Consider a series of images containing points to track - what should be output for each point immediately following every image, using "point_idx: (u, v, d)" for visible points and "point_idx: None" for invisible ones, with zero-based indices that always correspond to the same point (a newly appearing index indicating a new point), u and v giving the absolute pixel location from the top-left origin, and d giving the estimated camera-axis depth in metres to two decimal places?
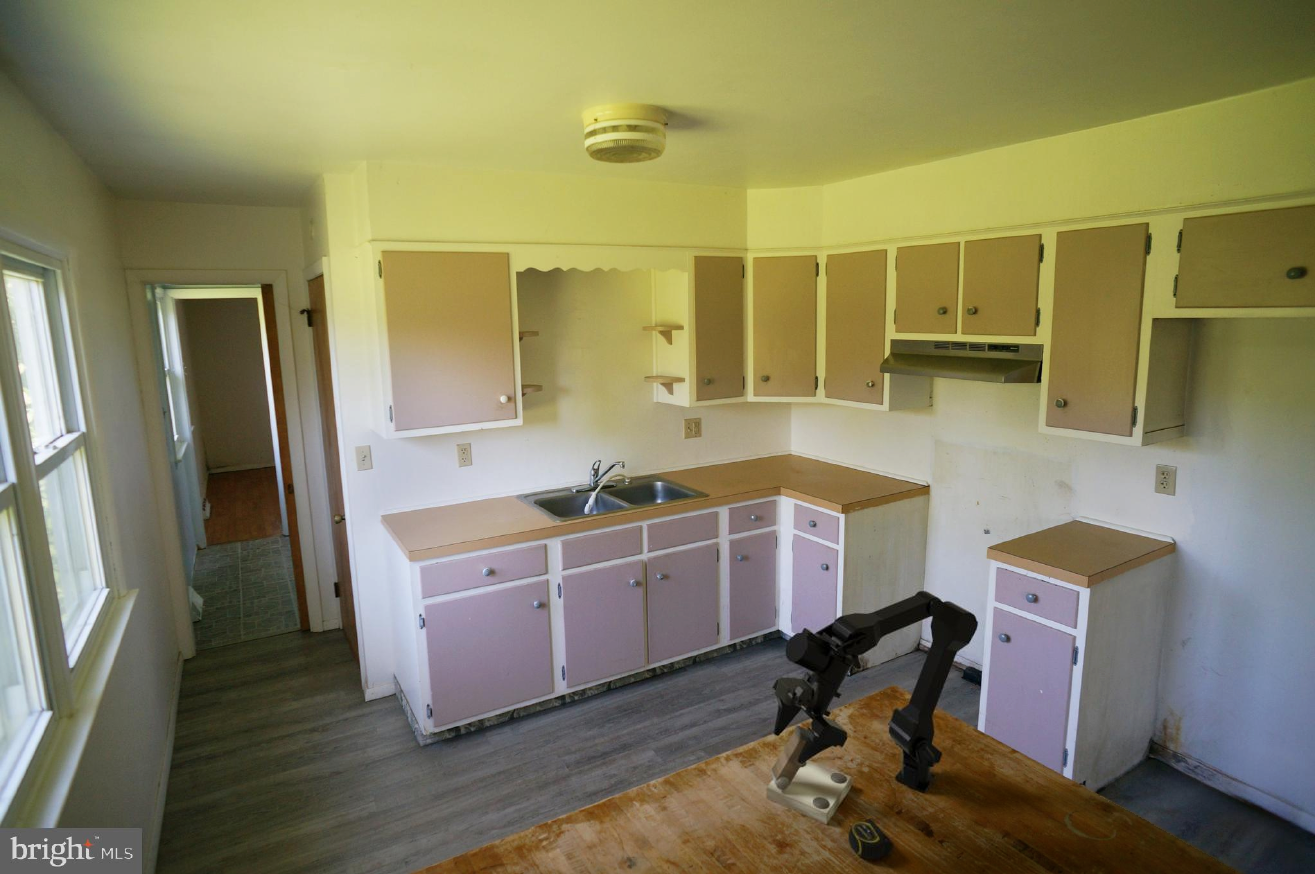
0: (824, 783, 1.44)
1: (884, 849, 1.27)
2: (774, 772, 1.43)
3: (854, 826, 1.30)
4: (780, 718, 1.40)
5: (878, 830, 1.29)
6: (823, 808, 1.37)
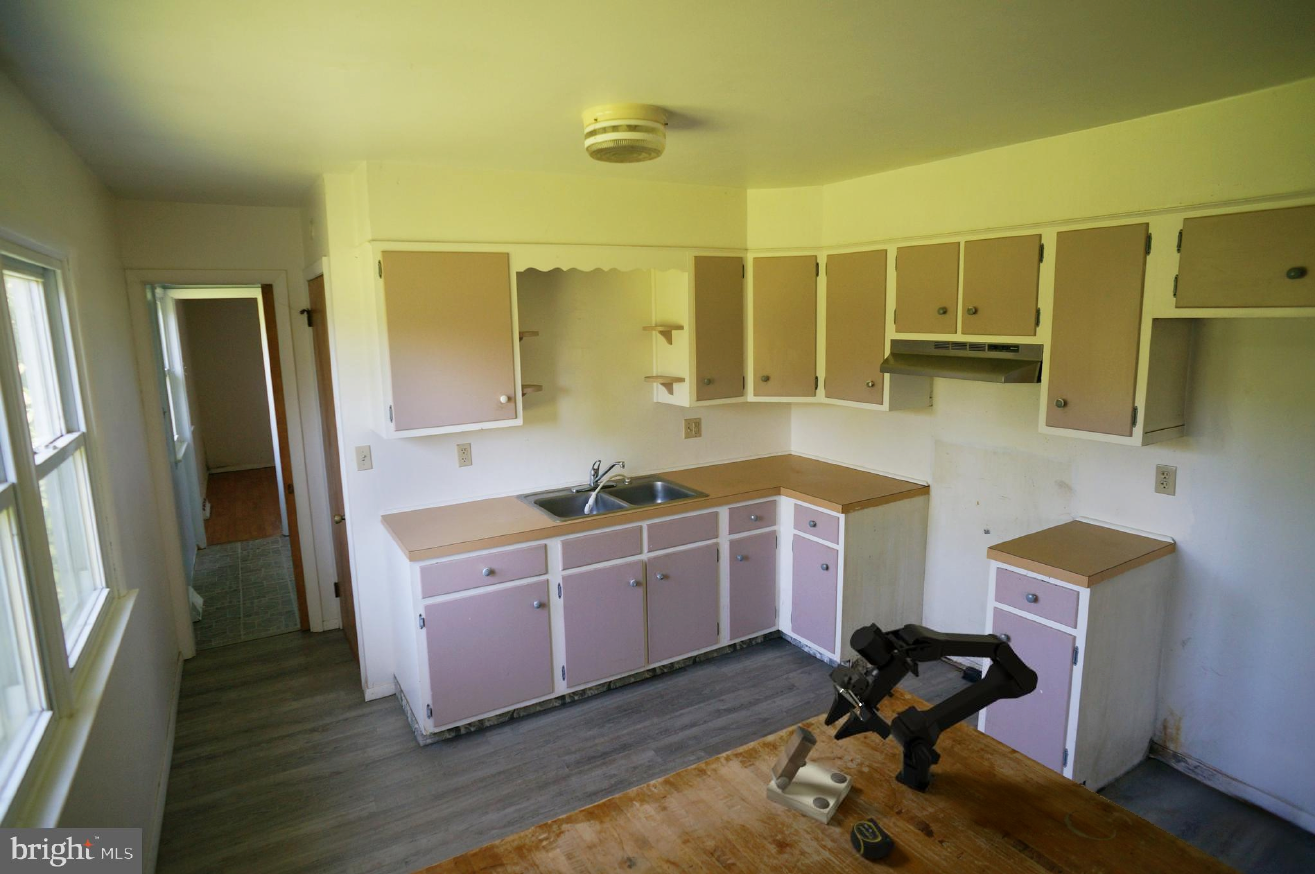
0: (824, 783, 1.44)
1: (886, 848, 1.27)
2: (774, 772, 1.43)
3: (856, 825, 1.31)
4: (834, 710, 1.45)
5: (880, 829, 1.30)
6: (823, 808, 1.37)
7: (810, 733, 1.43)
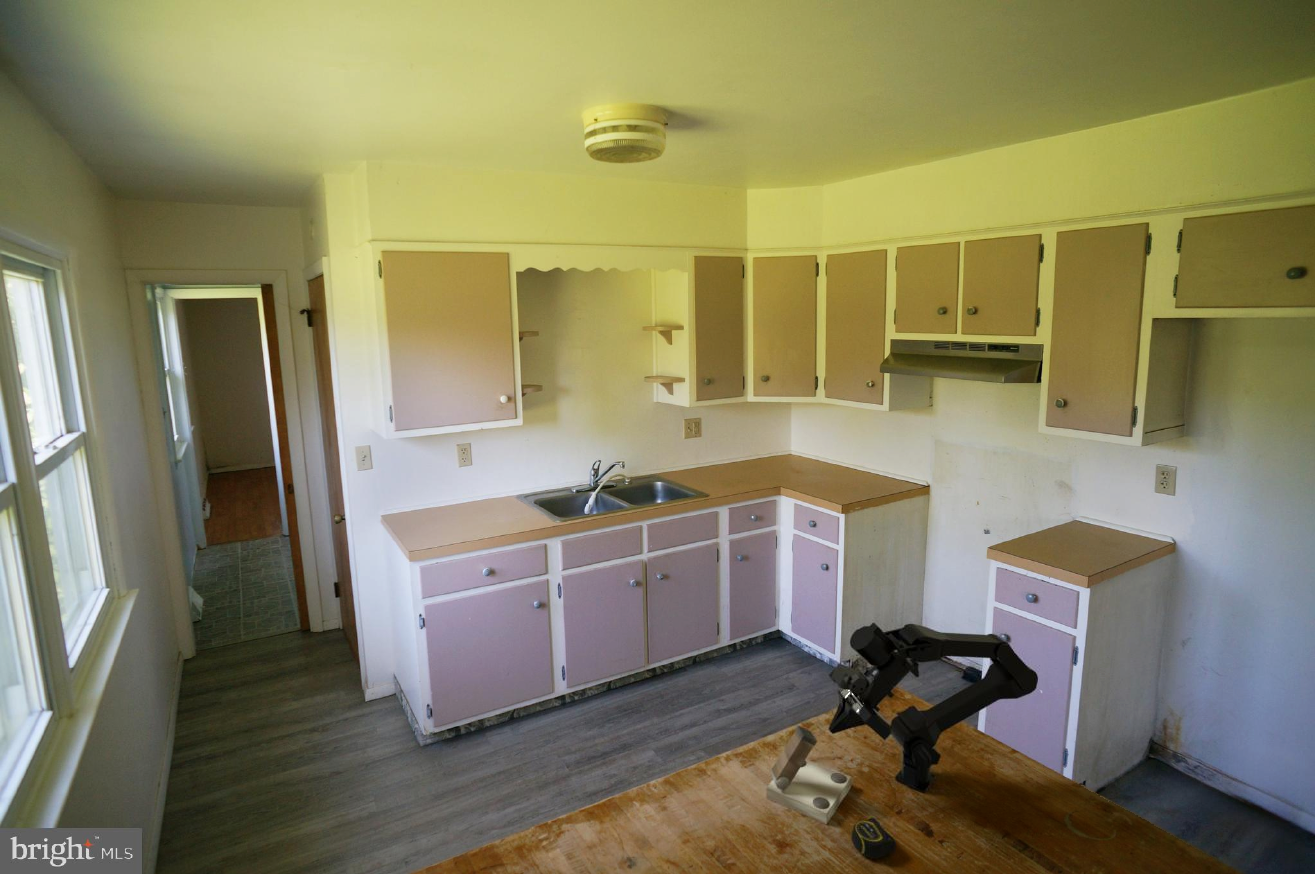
0: (824, 783, 1.44)
1: (887, 848, 1.27)
2: (774, 772, 1.43)
3: (857, 825, 1.31)
4: (838, 716, 1.43)
5: (881, 829, 1.30)
6: (823, 808, 1.37)
7: (810, 733, 1.43)
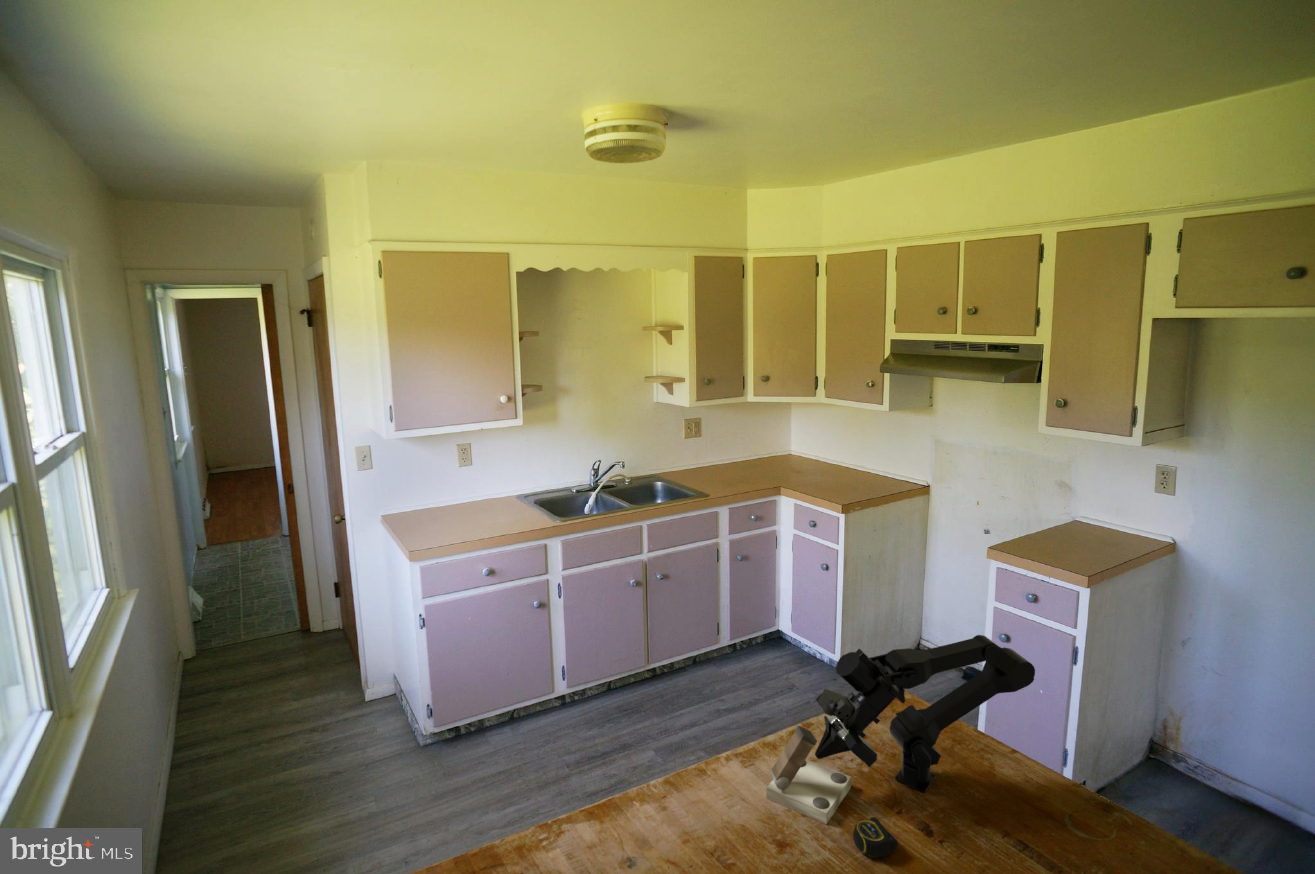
0: (824, 783, 1.44)
1: (889, 847, 1.27)
2: (774, 772, 1.43)
3: (859, 824, 1.31)
4: (824, 741, 1.43)
5: (883, 828, 1.30)
6: (823, 808, 1.37)
7: (810, 733, 1.43)
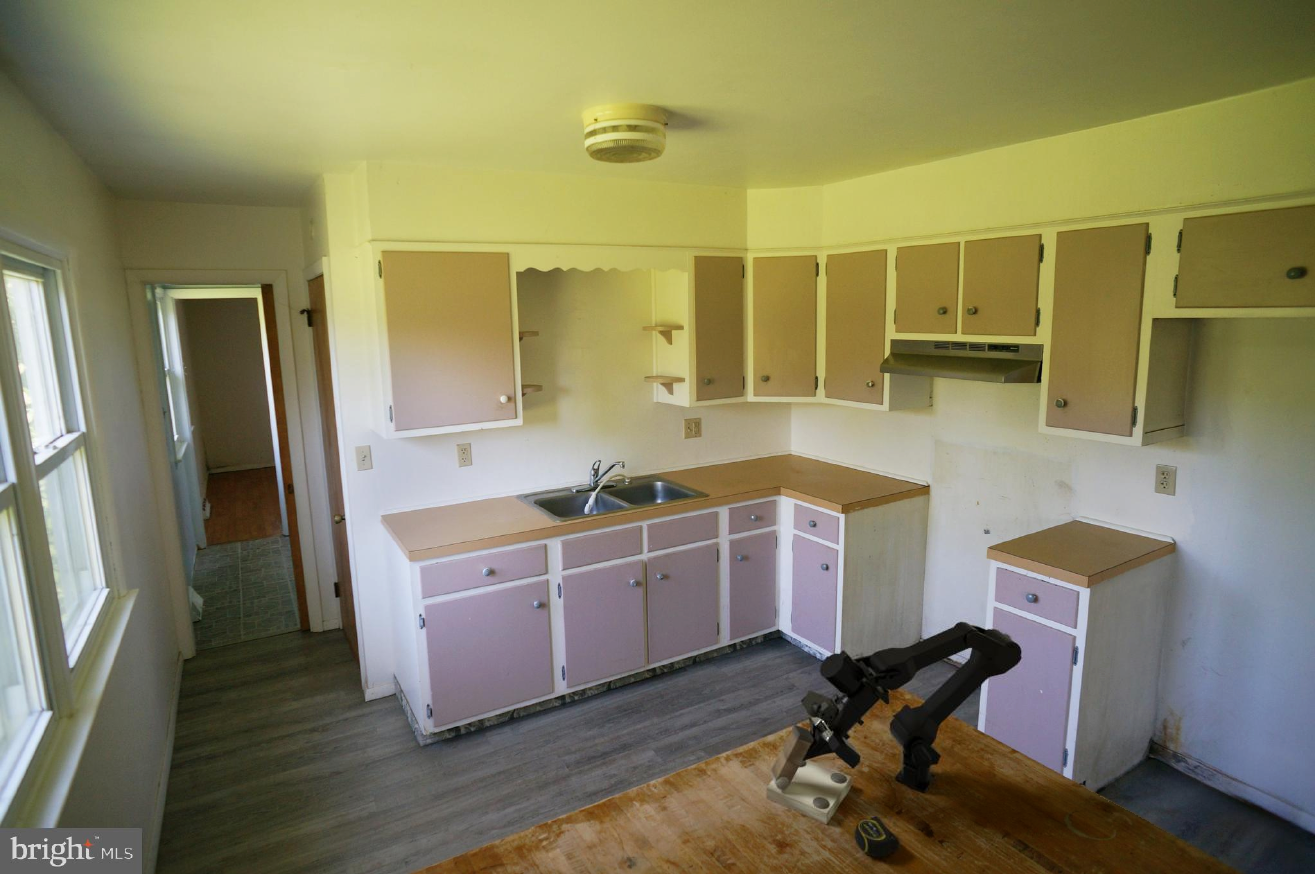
0: (824, 783, 1.44)
1: (890, 846, 1.27)
2: (774, 772, 1.43)
3: (860, 824, 1.31)
4: None
5: (884, 828, 1.30)
6: (823, 808, 1.37)
7: (807, 732, 1.43)
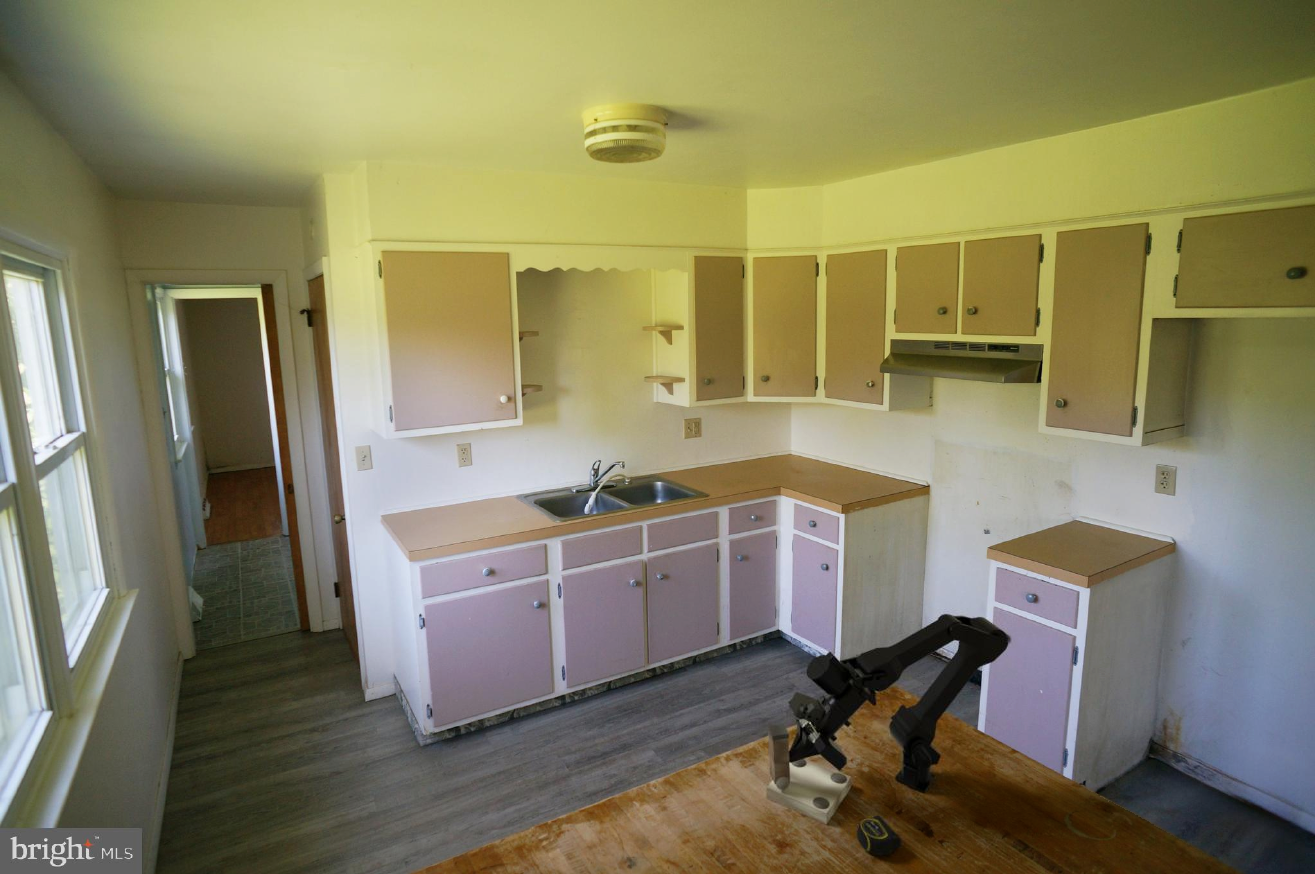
0: (824, 783, 1.44)
1: (892, 845, 1.27)
2: (772, 776, 1.43)
3: (862, 822, 1.31)
4: (796, 745, 1.42)
5: (886, 826, 1.30)
6: (823, 808, 1.37)
7: (782, 727, 1.41)
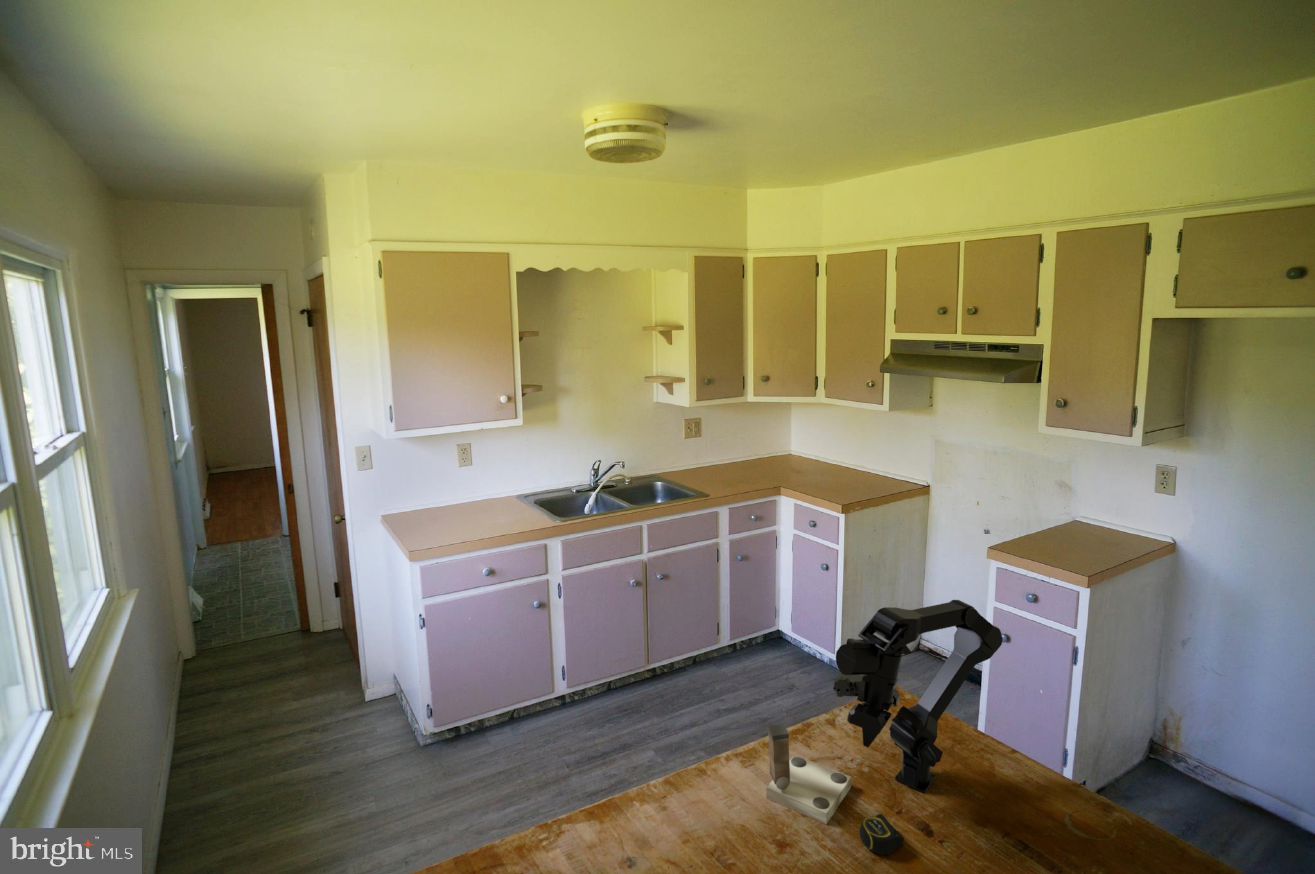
0: (824, 783, 1.44)
1: (895, 844, 1.28)
2: (772, 776, 1.43)
3: (865, 821, 1.32)
4: None
5: (889, 825, 1.31)
6: (823, 808, 1.37)
7: (782, 727, 1.41)
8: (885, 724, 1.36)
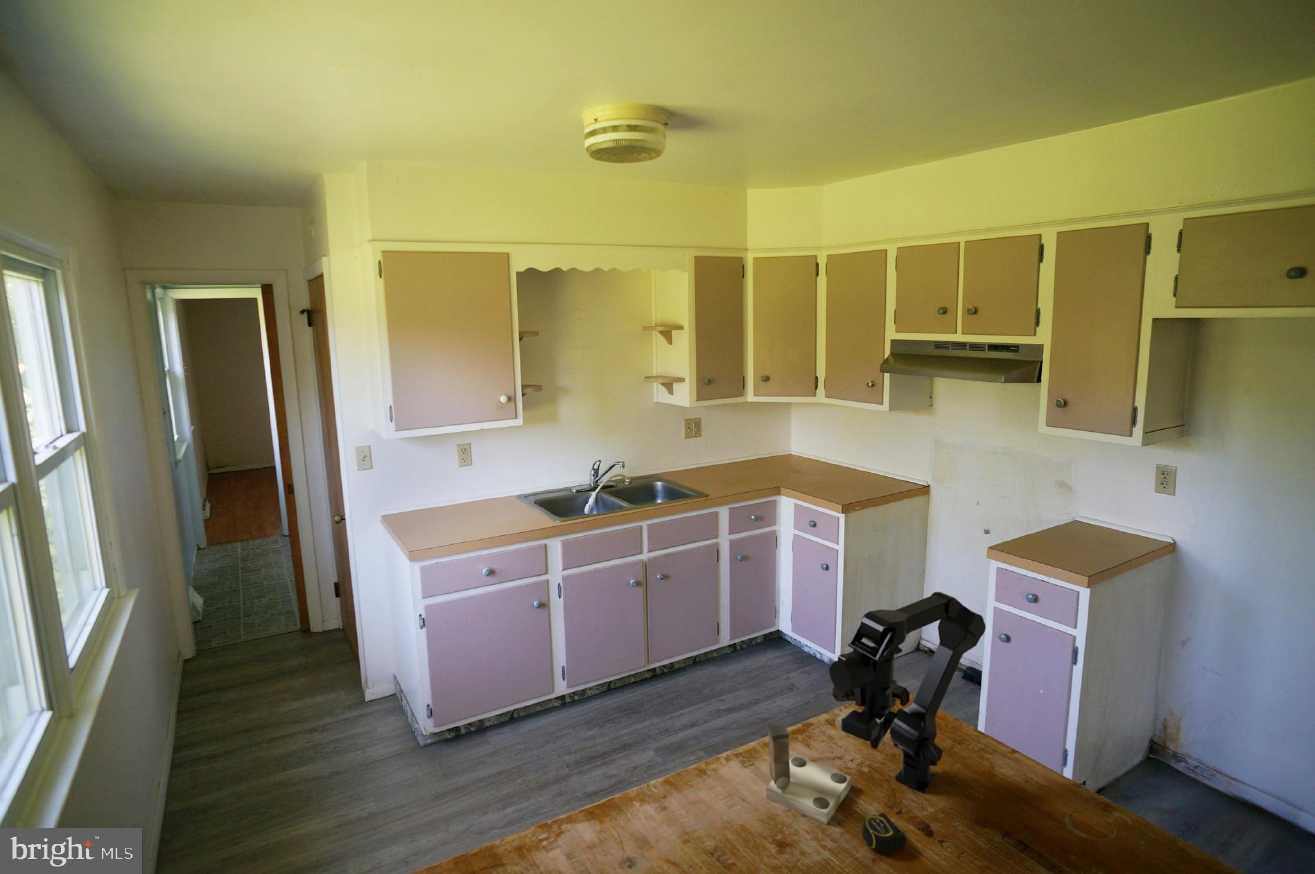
0: (824, 783, 1.44)
1: (898, 843, 1.28)
2: (772, 776, 1.43)
3: (867, 820, 1.32)
4: None
5: (891, 824, 1.31)
6: (823, 808, 1.37)
7: (782, 727, 1.41)
8: (884, 728, 1.35)
